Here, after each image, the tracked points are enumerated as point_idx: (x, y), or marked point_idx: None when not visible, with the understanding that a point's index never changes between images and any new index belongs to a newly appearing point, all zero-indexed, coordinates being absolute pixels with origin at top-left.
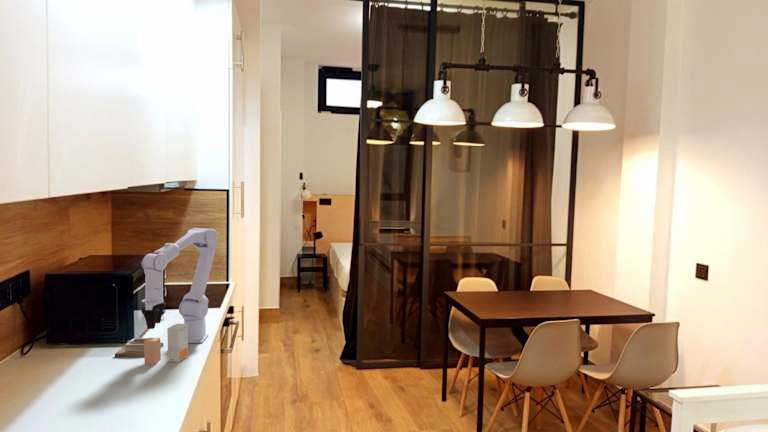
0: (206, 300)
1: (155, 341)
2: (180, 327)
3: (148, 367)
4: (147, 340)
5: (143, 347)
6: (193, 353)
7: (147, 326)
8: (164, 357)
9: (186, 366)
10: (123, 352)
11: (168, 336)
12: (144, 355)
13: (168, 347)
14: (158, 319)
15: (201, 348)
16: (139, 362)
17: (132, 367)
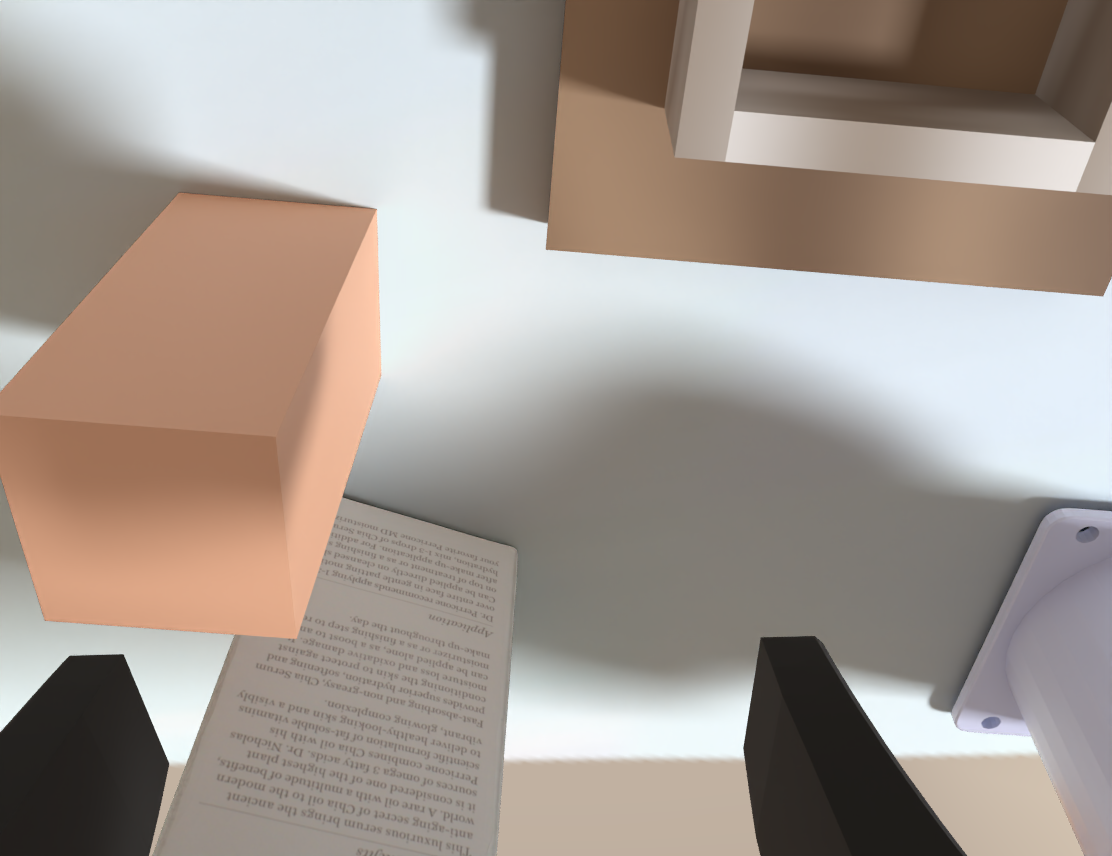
0: None
1: (43, 611)
2: None
3: (56, 282)
4: (71, 467)
5: (679, 79)
6: (579, 678)
7: (20, 716)
8: (471, 402)
9: (148, 672)
10: None
11: (168, 819)
12: (117, 261)
13: (231, 644)
14: (767, 834)
15: (746, 725)
16: (259, 77)
17: (14, 22)
